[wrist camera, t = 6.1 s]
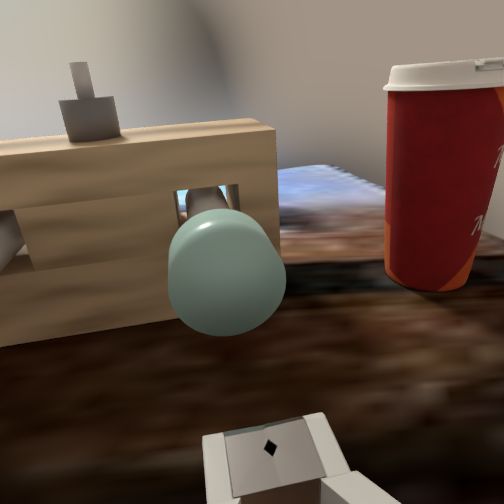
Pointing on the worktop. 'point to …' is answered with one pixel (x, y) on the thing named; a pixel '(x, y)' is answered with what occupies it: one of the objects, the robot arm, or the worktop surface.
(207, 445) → the robot arm
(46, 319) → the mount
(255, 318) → the teal knob
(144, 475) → the worktop surface
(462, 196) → the coffee cup
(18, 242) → the cream knob
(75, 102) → the potentiometer
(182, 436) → the worktop surface
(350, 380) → the worktop surface
